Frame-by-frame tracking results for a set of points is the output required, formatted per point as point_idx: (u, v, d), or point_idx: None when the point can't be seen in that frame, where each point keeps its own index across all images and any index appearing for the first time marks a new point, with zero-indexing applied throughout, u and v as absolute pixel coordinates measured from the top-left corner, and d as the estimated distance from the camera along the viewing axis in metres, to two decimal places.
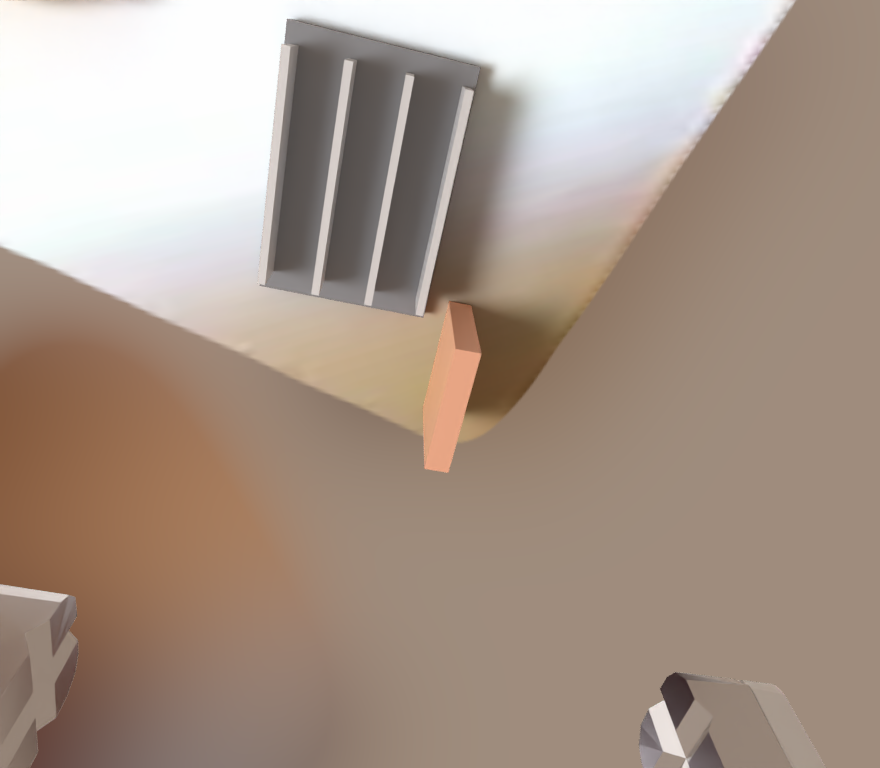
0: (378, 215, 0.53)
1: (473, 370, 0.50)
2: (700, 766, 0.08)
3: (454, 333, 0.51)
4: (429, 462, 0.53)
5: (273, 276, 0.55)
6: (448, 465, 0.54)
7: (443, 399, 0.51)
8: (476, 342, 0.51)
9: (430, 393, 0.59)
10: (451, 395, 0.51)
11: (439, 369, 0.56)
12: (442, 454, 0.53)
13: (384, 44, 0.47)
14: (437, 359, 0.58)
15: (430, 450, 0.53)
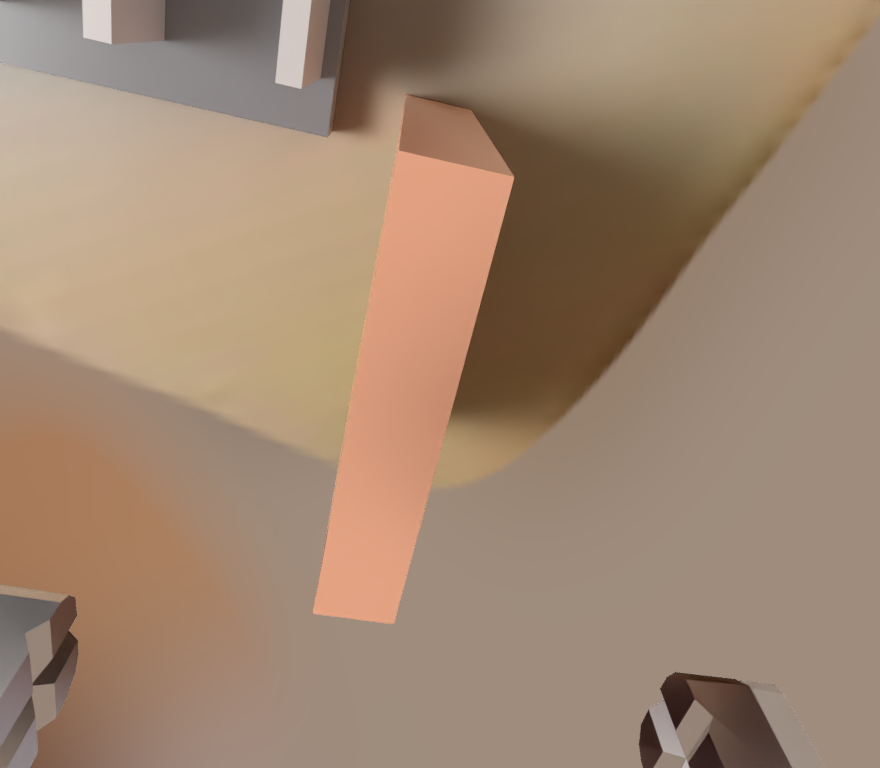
0: None
1: (479, 256, 0.12)
2: (699, 765, 0.08)
3: (406, 127, 0.13)
4: (328, 596, 0.16)
5: None
6: (393, 603, 0.16)
7: (360, 378, 0.13)
8: (489, 153, 0.13)
9: (356, 366, 0.21)
10: (391, 362, 0.13)
11: (371, 287, 0.18)
12: (369, 569, 0.15)
13: None
14: None
15: (327, 558, 0.15)
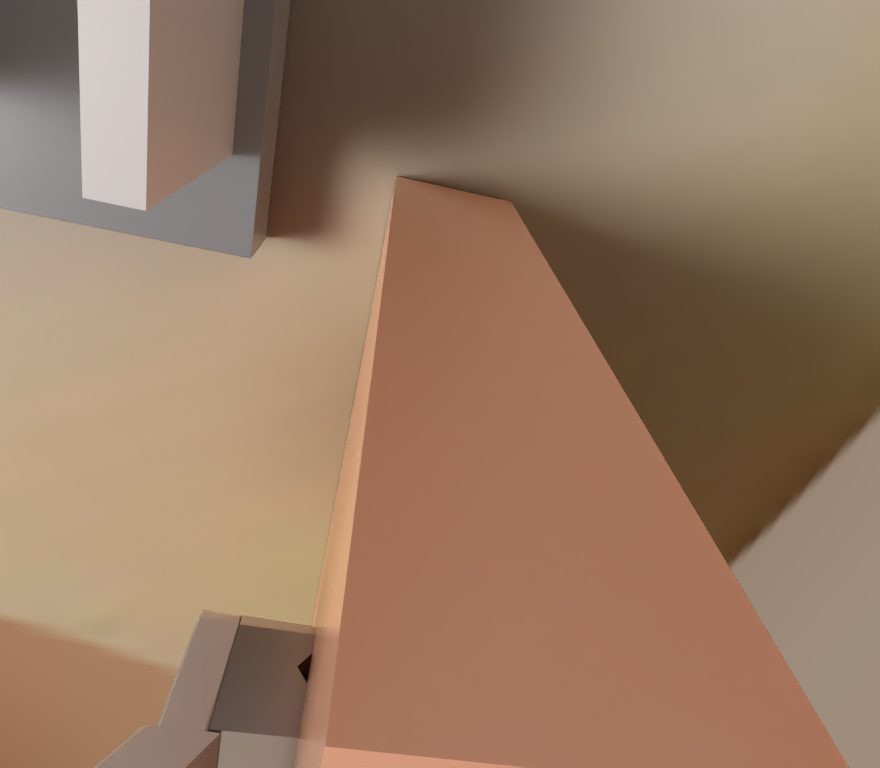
0: None
1: None
2: None
3: (386, 362, 0.05)
4: None
5: None
6: None
7: None
8: (644, 478, 0.04)
9: None
10: None
11: (325, 571, 0.09)
12: None
13: None
14: None
15: None
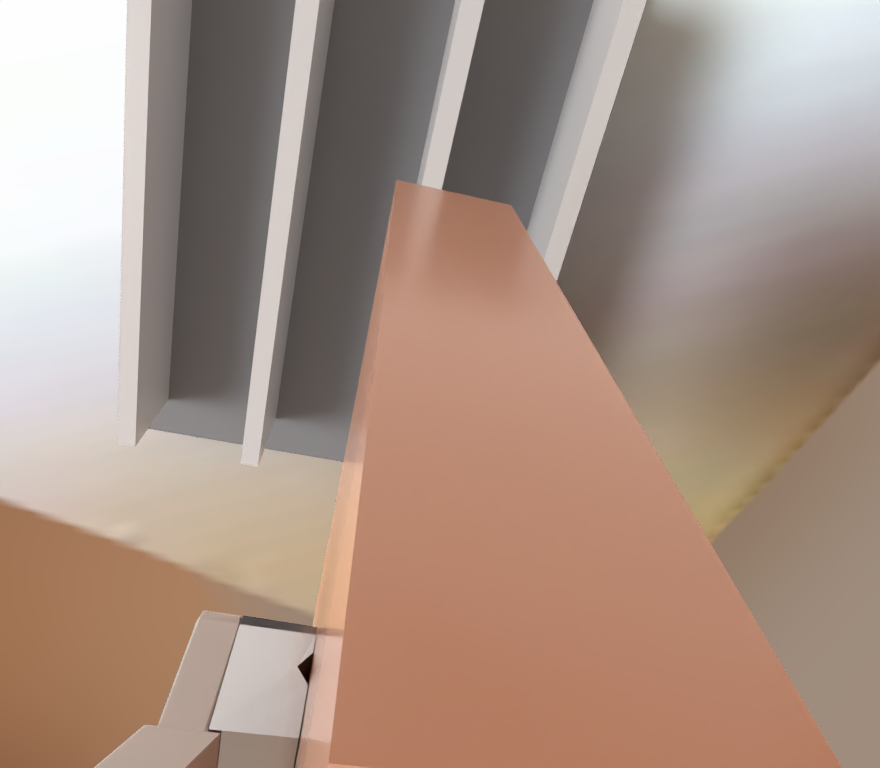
0: None
1: None
2: None
3: (387, 370, 0.05)
4: None
5: (169, 409, 0.26)
6: None
7: None
8: (645, 488, 0.04)
9: None
10: None
11: (326, 575, 0.09)
12: None
13: None
14: (341, 479, 0.12)
15: None
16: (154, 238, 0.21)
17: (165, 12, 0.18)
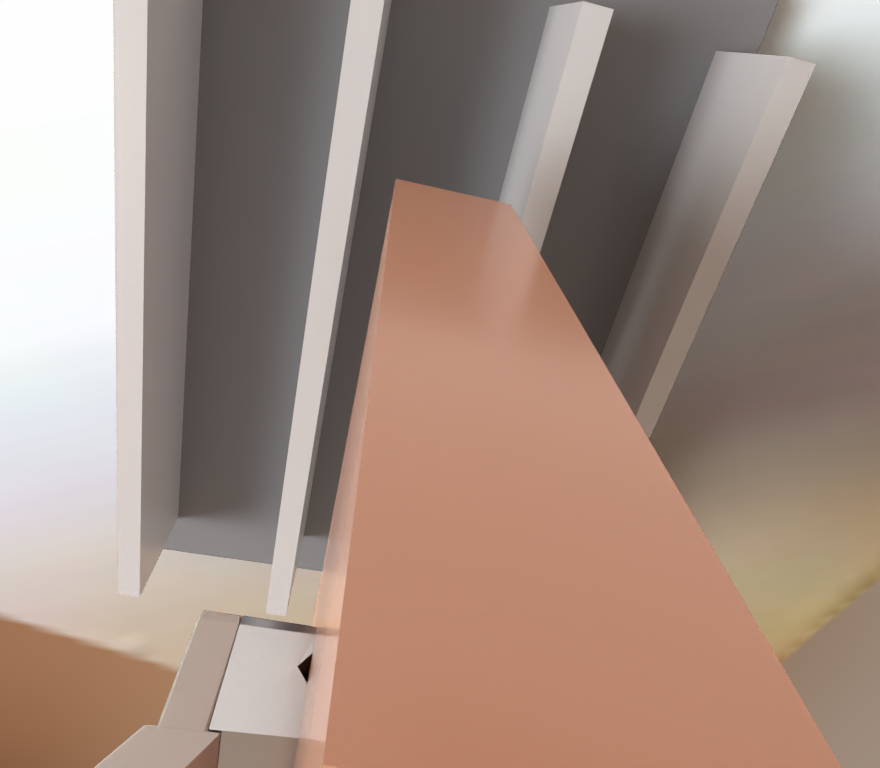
0: None
1: None
2: None
3: (385, 369, 0.05)
4: None
5: (180, 527, 0.22)
6: None
7: None
8: (644, 488, 0.04)
9: None
10: None
11: (325, 575, 0.09)
12: None
13: None
14: (340, 479, 0.12)
15: None
16: (157, 363, 0.17)
17: (165, 94, 0.14)
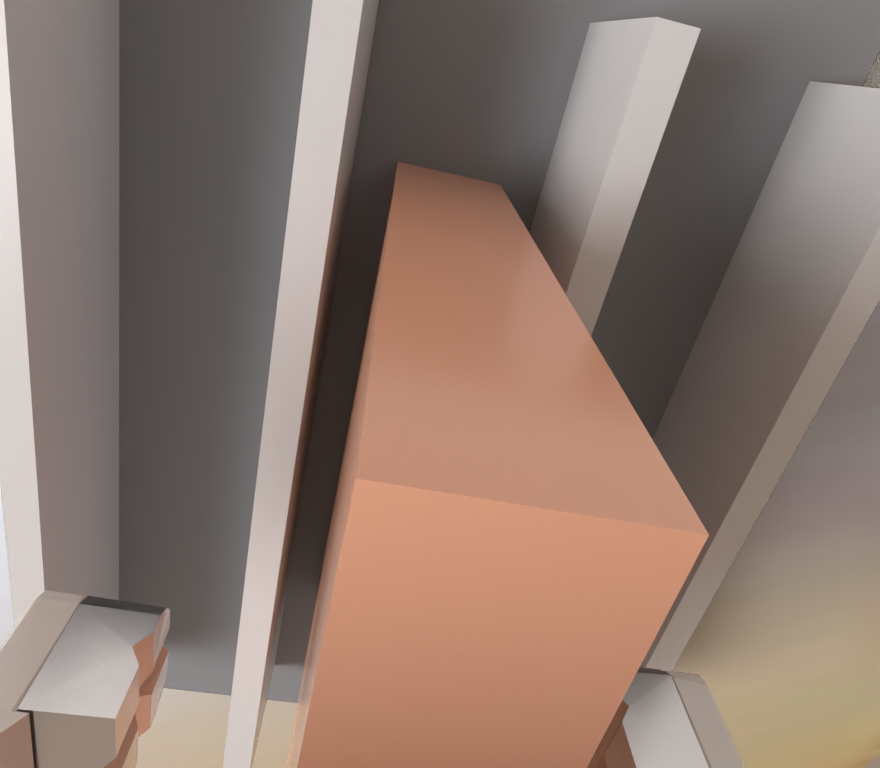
0: None
1: (584, 699, 0.04)
2: (613, 756, 0.08)
3: (390, 291, 0.06)
4: None
5: None
6: None
7: None
8: (588, 372, 0.05)
9: None
10: None
11: None
12: None
13: None
14: (347, 432, 0.13)
15: None
16: (67, 492, 0.13)
17: (55, 147, 0.10)
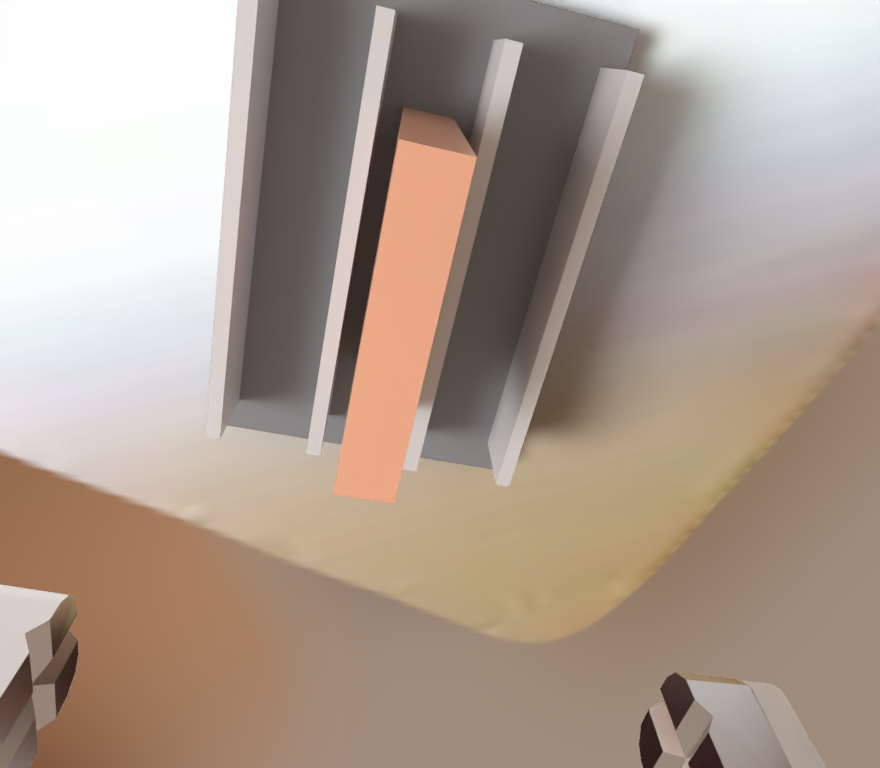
0: None
1: (453, 212, 0.17)
2: (699, 766, 0.08)
3: (403, 127, 0.19)
4: (345, 478, 0.21)
5: (240, 408, 0.31)
6: (393, 485, 0.21)
7: (371, 303, 0.18)
8: (462, 144, 0.18)
9: None
10: (393, 291, 0.18)
11: None
12: (376, 456, 0.20)
13: None
14: None
15: (345, 446, 0.20)
16: (240, 270, 0.25)
17: (256, 93, 0.23)
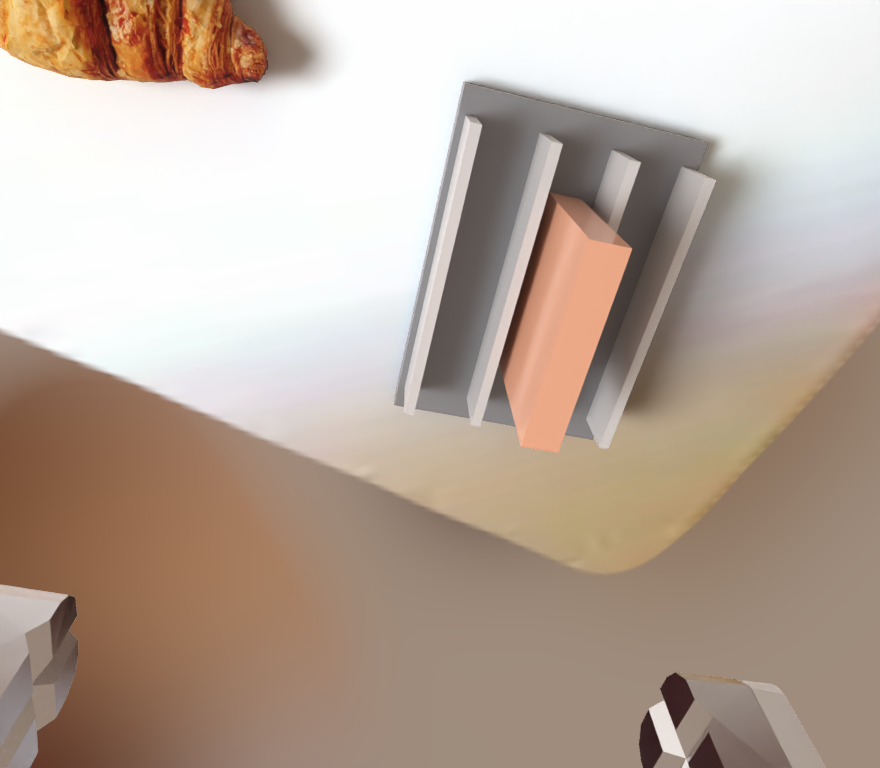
0: None
1: (615, 278, 0.30)
2: (699, 766, 0.08)
3: (577, 223, 0.31)
4: (529, 436, 0.33)
5: None
6: (559, 440, 0.34)
7: (561, 329, 0.31)
8: (615, 235, 0.31)
9: (517, 335, 0.39)
10: (575, 322, 0.31)
11: (539, 292, 0.36)
12: (551, 422, 0.33)
13: (588, 115, 0.36)
14: (529, 282, 0.38)
15: (533, 416, 0.33)
16: None
17: None
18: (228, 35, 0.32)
